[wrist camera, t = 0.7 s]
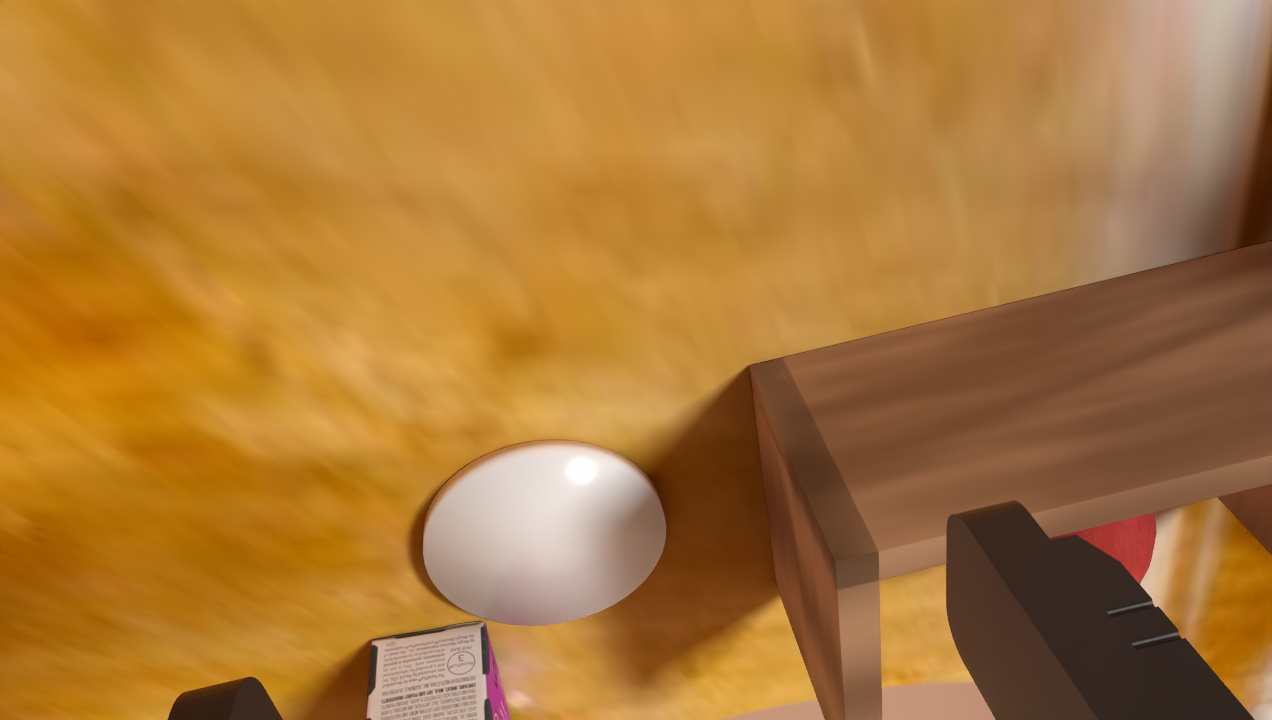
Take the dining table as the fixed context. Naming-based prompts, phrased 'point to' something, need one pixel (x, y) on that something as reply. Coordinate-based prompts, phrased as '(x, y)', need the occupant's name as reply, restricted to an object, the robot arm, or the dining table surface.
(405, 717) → the candy bar box
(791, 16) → the dining table surface
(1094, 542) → the onion
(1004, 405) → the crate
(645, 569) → the coaster
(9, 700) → the dining table surface
